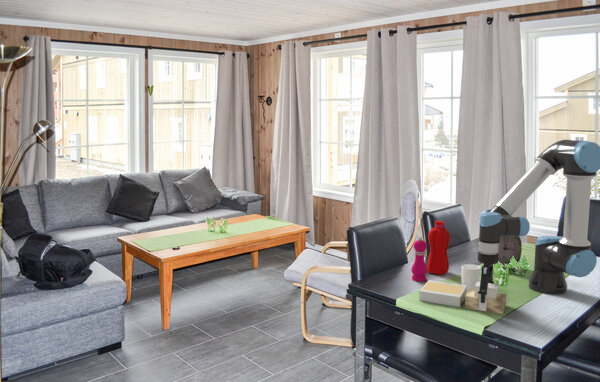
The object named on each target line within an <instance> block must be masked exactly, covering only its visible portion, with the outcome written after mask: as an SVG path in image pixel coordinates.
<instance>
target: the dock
mask: <svg viewBox="0 0 600 382" xmlns="http://www.w3.org/2000/svg"><path fill="white" fill-rule="evenodd" d="M467 292H468V291H467V285H462V284H459V283H454V282H445V281H439V280H438V281H437V280H431V279H428V280H427V282H426V283H425V284H424V285H423V287H421V288H420V290H419V293H418V294H419V297H418V299H419V300H418V301H420V302H427V303H433V304H440V305H445V306H450V307H451V306H452V307H458V308H460V307H461V305H462V303H463V302H464V301H465V296H466V294H467Z"/></svg>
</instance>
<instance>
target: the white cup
mask: <svg viewBox="0 0 600 382" xmlns="http://www.w3.org/2000/svg"><path fill="white" fill-rule="evenodd" d="M481 268H482V266H479V265H477V264H472V263H469V264H468V263H467V264H462V265H461V269H460V270H461V271H460V272H461V275H460V276H461V277H460V278H461V285H467V292H468V291H469V289H475V284H476V283H477V282H480V280H481Z"/></svg>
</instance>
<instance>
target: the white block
mask: <svg viewBox="0 0 600 382" xmlns="http://www.w3.org/2000/svg"><path fill="white" fill-rule="evenodd" d="M479 290H480V281H479V282H477V283H476V284H475V290H474V296H480V294H478V292H479ZM482 291H483V290H482ZM498 293H499V284H498V283H494V284H492V283H488V289H487V298H493V299H496V297H497V295H498Z"/></svg>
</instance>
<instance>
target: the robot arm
mask: <svg viewBox="0 0 600 382" xmlns="http://www.w3.org/2000/svg"><path fill="white" fill-rule="evenodd" d="M562 169H563V170H562ZM560 170H562V175H563V176H564V177H565V178H566V187H565V188H566V190H565V204H564V219H563V234H562V235H563V236H560V235H559V236H558V235H556V236H555V235H544V236H538V237H537V238H536V239H535V245H534V246H535V247H534V249H535V251H534V267H533V268H534V269H533V271H532V273H531V275H530V278H529V281H528V287H529V289H531V290H532V291H535V292H538V293H539V292H540V293H542V294H543V293H544V294H549V295H550V294H551V295H562V294H565V293H567V291H568V283H567V280H566V276H565V274H567V275H569V276H572V277H577V278H583V277H587V276H588V275H590V274H591V273H592V272H593V271H594V269H595V268H596V266H597V261H598V258H597V255H596V254H595V253H594V252H593V251H592V242H590V241H589V240H588V232H589V218H590V203H591V193H592V192H591V188H592V180H593V179H594V178H595V177H596V176H597V172H599V171H600V144H598V143H597V142H594V141H588V140H574V139H572V140H571V139H562V140H557V141H556V142H554V143H552V144H551V145H549V146H548V147H546V149H544V150H543V151H542V152H541V153H540V154H539V155H538V156H537V157H536V158H535V159H534V164H533V165H532V166H531V167H530V168H529V169H528V170H527V171H526V172H525V173H524V174H523V175H522V176H521V178H520V179H518V181H517V182H516V183H515V184H514V185H513V186H512V187H511V188H510V189H509V190H508V191H507V193H506V194H504V195H503V197H501V199H500V200H499V201H498V202H497V203H496V204H495V205H494V206H493V207H492V208H491V209H486V210H483V211H482V212H481V213H480V215H479V223H478V224H479V233H478V242H476V243H477V244H476V245H477V246H478V253H477V261H478V262H479V263H480V264H483V265H482V266H481V269H480V280H479V282H480V290H479V292H478V294H480V296H479V310H478V311H481V310H482V312H487V311H486V307H487V289H488V283H492V284H495V281H494V277H493V276H494V274H493V273H494V268H493V264H494V265H497V264H499V263H498V256H499V254H498V252H499V243H500V242H499V240H500V237H514V236H517V237H524V236H527V235H528V234H529V233H530V228H531V224H530V221H529V220H528V218H527V217H525V216H513V215H514V214H515V212H517V210H519V208H520V207H521V206H522V205H523V204H524V203H525V202H526V201H527V200H528V199H529V198H530V197H531V196H532V194H534V193H535V191H536V190H537V189H538V188H540V186H541V185H542V184H543V183H544V182H545V181H546V180H547V179H548V178H549V177H550V176H552V175H553V176H554V175H555V174H556V173H557V172H558V171H560ZM482 290H483V291H482Z"/></svg>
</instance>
